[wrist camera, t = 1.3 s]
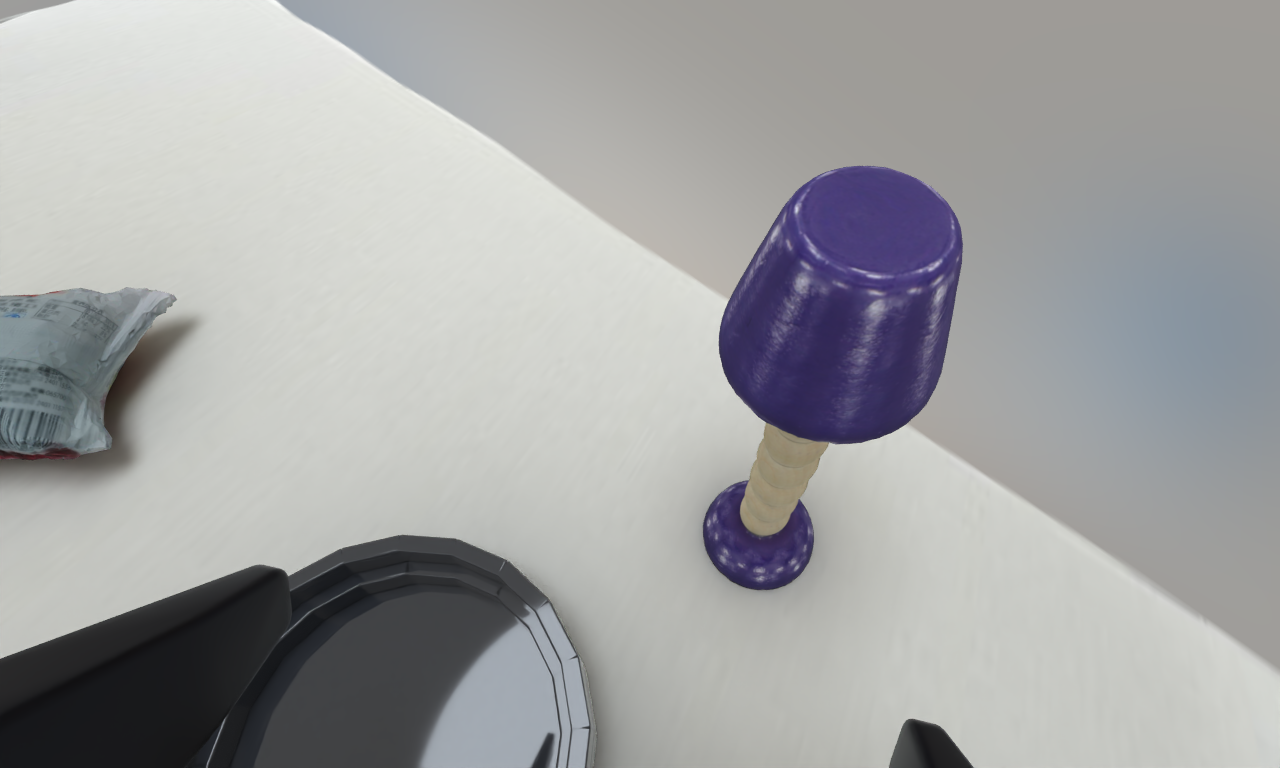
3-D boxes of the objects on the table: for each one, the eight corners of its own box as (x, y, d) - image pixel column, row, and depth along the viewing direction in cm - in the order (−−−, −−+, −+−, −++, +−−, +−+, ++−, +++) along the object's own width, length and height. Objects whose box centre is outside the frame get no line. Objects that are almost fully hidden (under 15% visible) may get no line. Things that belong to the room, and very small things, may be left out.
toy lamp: (826, 602, 23) (1075, 309, 9) (699, 610, 23) (758, 328, 9) (800, 481, 26) (966, 112, 12) (687, 489, 26) (719, 127, 12)
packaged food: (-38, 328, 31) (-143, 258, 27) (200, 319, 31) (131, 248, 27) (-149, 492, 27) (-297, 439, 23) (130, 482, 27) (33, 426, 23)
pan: (635, 942, 18) (632, 964, 16) (167, 1086, 17) (88, 1132, 15) (562, 527, 25) (552, 499, 23) (225, 605, 24) (177, 585, 21)
